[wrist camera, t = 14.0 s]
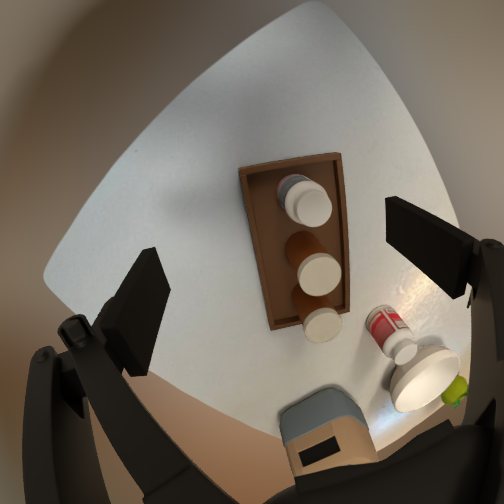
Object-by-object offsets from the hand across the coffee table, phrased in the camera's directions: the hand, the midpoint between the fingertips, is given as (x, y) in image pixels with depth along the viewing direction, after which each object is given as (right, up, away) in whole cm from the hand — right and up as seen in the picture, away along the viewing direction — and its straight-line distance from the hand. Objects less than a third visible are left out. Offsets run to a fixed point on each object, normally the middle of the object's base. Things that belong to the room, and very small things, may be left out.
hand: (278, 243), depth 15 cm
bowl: (+38, -27, +41) cm, 63 cm away
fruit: (+59, -40, +49) cm, 86 cm away
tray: (+6, 0, +26) cm, 27 cm away
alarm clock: (+15, -38, +44) cm, 60 cm away
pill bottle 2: (+23, -13, +34) cm, 43 cm away
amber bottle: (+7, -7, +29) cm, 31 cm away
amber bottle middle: (+6, 0, +26) cm, 26 cm away
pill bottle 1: (+4, +8, +22) cm, 24 cm away
